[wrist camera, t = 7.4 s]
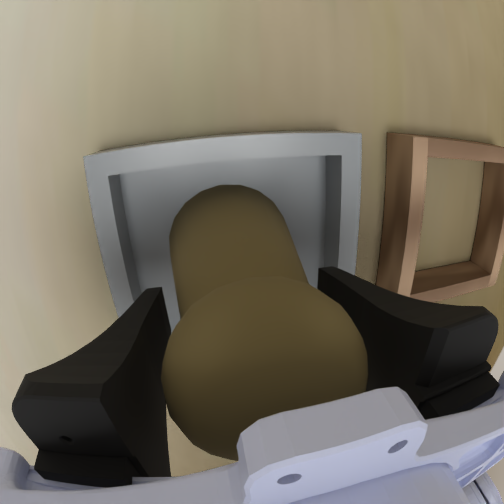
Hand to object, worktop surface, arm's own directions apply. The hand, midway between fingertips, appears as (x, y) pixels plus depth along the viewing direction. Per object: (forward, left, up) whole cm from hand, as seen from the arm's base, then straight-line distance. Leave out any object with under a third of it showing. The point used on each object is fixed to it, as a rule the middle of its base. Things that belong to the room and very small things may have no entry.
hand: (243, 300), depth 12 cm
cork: (+1, 0, -5) cm, 5 cm away
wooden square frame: (+1, -14, -5) cm, 15 cm away
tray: (0, 0, -5) cm, 5 cm away
